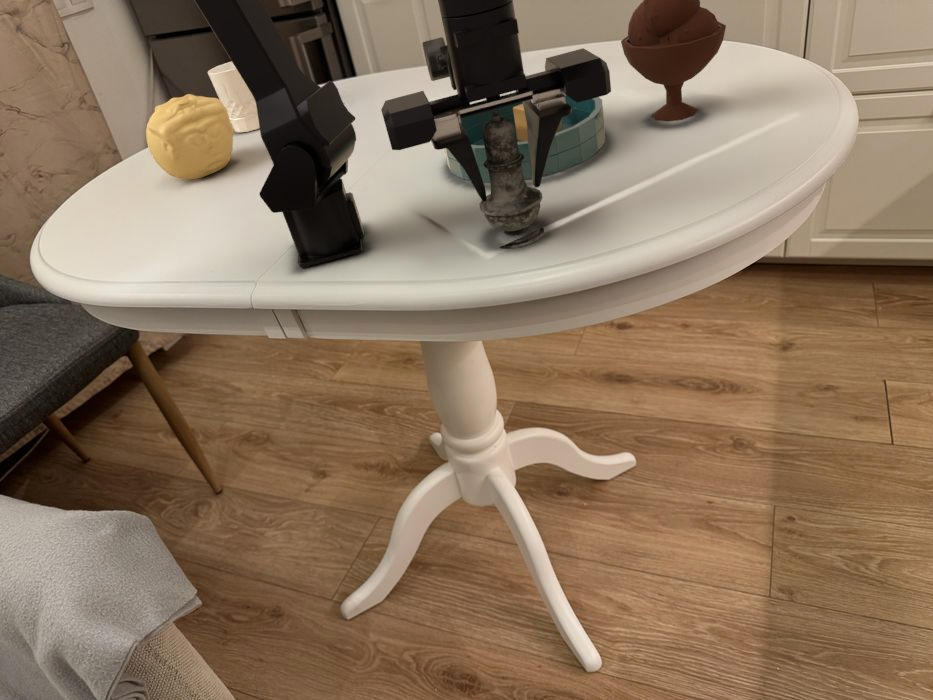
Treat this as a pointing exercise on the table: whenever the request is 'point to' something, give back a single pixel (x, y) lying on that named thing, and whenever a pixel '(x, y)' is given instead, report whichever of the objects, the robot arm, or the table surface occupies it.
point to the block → (524, 123)
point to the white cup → (235, 97)
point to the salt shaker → (508, 184)
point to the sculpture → (190, 136)
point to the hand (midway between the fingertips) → (510, 192)
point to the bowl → (568, 145)
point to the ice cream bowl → (672, 48)
